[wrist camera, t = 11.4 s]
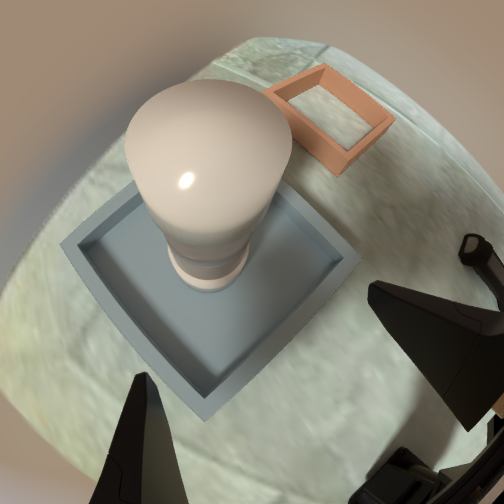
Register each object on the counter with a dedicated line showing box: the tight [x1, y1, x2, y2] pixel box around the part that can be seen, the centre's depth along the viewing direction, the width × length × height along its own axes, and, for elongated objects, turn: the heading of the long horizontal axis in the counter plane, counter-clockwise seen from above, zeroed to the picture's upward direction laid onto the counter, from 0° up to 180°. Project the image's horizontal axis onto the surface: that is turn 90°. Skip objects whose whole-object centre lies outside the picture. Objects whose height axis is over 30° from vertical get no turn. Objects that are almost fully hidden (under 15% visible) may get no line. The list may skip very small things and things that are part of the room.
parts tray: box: [60, 178, 363, 422], centre depth 18 cm, size 14×14×2 cm
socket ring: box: [262, 63, 396, 177], centre depth 24 cm, size 9×9×2 cm
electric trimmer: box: [458, 234, 504, 312], centre depth 21 cm, size 4×16×3 cm, turn 49°
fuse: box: [125, 79, 292, 293], centre depth 13 cm, size 4×4×12 cm
